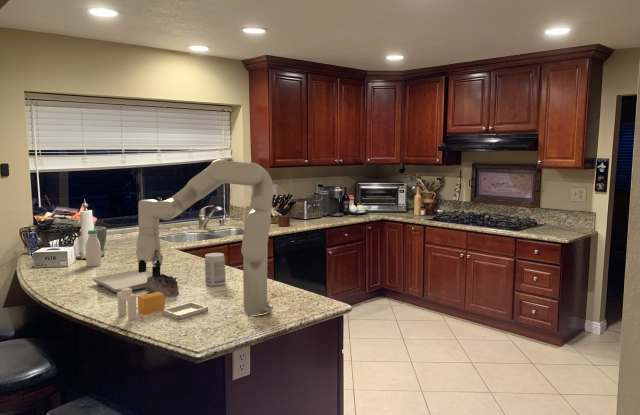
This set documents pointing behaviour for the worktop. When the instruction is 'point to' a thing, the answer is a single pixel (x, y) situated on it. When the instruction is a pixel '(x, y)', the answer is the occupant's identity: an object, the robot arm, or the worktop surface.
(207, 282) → the supplement tub
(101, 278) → the square plate
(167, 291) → the geode
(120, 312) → the beige blocky piece
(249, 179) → the robot arm
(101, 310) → the worktop surface
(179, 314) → the tray
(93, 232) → the milk bottle
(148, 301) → the orange block
